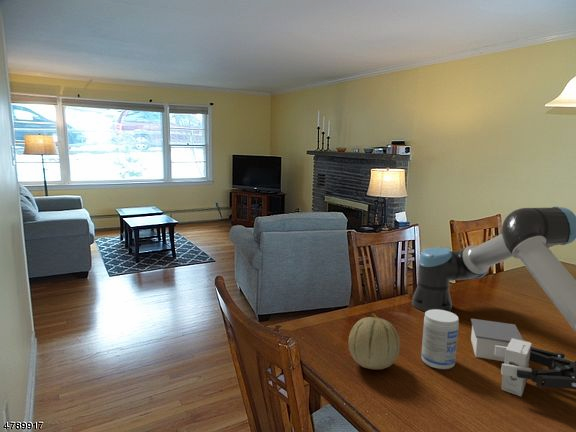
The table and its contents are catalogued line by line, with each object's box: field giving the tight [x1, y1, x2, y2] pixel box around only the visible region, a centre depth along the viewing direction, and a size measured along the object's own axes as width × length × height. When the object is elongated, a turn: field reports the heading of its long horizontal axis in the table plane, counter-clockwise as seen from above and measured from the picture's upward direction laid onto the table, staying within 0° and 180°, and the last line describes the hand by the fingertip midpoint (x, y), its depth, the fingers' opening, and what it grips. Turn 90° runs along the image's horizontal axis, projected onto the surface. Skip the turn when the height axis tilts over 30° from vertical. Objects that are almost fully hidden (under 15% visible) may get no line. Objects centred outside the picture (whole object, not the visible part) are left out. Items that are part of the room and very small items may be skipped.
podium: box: [470, 318, 525, 362], centre depth 123 cm, size 13×13×7 cm
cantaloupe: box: [348, 313, 401, 370], centre depth 112 cm, size 15×15×15 cm
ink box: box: [500, 338, 532, 397], centre depth 104 cm, size 9×5×12 cm, turn 141°
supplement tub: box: [420, 309, 460, 370], centre depth 115 cm, size 10×10×15 cm
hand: (498, 359), depth 105 cm, fingers closed on ink box, 9 cm apart
